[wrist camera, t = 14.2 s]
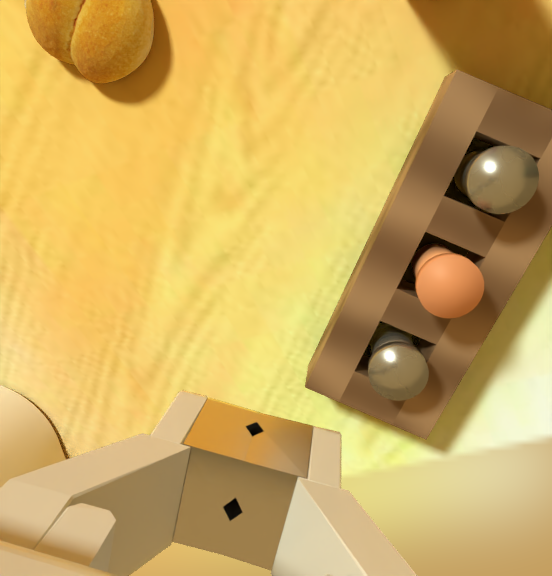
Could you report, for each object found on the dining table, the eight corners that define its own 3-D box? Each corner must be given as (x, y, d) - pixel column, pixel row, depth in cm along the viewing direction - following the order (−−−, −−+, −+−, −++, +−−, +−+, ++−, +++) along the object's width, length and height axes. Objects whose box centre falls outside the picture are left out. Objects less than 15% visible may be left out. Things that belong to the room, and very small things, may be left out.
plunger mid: (445, 299, 38) (464, 328, 32) (396, 277, 38) (406, 303, 32) (472, 251, 37) (496, 272, 31) (421, 229, 37) (435, 246, 31)
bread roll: (129, 103, 39) (105, 99, 35) (28, 36, 38) (-7, 24, 35) (180, -2, 36) (161, -18, 33) (73, -74, 36) (41, -100, 32)
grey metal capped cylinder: (402, 371, 41) (412, 409, 35) (356, 351, 41) (358, 386, 35) (425, 328, 40) (439, 361, 34) (378, 308, 40) (384, 337, 34)
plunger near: (489, 211, 37) (516, 224, 31) (438, 189, 37) (456, 198, 31) (517, 158, 36) (552, 161, 30) (465, 135, 36) (489, 135, 30)
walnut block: (418, 412, 43) (426, 439, 39) (308, 365, 43) (304, 387, 39) (578, 133, 35) (606, 132, 31) (444, 77, 35) (457, 69, 32)
